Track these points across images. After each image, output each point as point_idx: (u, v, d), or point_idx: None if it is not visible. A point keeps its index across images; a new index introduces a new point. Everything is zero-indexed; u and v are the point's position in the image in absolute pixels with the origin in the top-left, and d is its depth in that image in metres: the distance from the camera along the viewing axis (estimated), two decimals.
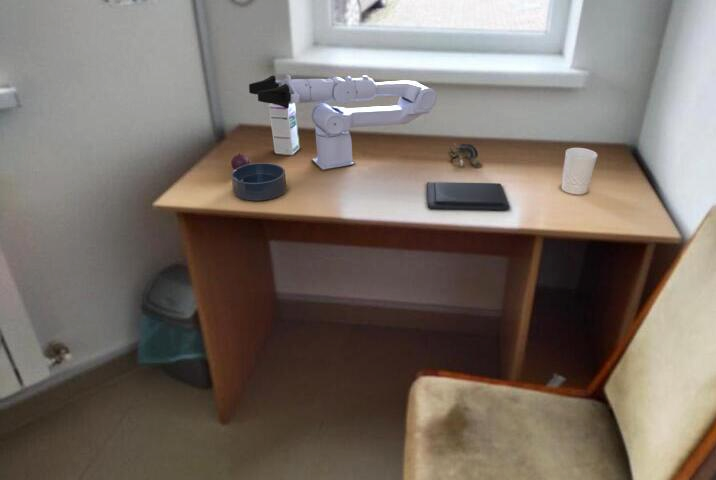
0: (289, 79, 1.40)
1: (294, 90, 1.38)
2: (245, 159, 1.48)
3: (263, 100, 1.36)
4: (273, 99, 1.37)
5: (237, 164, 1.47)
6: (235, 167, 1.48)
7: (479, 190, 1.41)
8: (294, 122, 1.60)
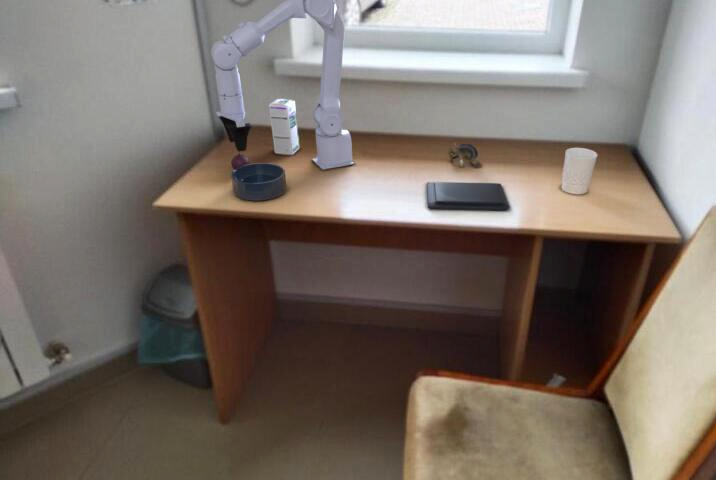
0: (221, 115, 1.40)
1: (232, 118, 1.38)
2: (245, 159, 1.48)
3: (244, 146, 1.43)
4: (243, 137, 1.42)
5: (237, 164, 1.47)
6: (235, 167, 1.48)
7: (479, 190, 1.41)
8: (294, 122, 1.60)
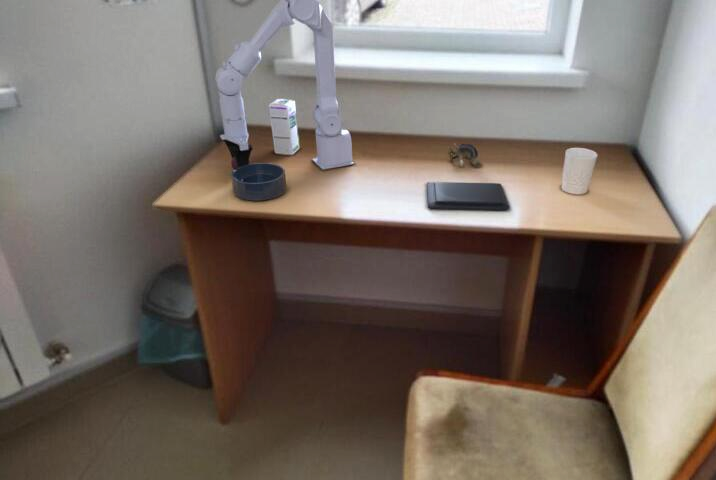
0: (225, 138, 1.43)
1: (235, 142, 1.41)
2: None
3: None
4: (245, 158, 1.46)
5: None
6: (235, 167, 1.48)
7: (479, 190, 1.41)
8: (294, 122, 1.60)
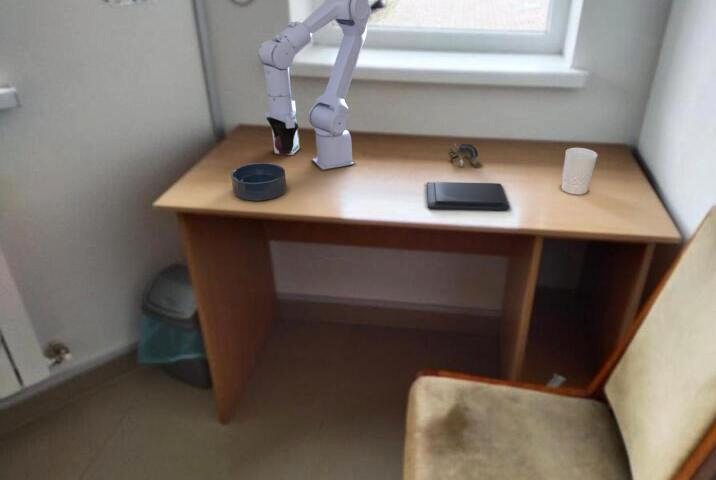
0: (269, 116, 1.37)
1: (281, 120, 1.35)
2: None
3: (291, 146, 1.41)
4: (289, 137, 1.40)
5: None
6: (279, 147, 1.42)
7: (479, 190, 1.41)
8: (294, 122, 1.60)
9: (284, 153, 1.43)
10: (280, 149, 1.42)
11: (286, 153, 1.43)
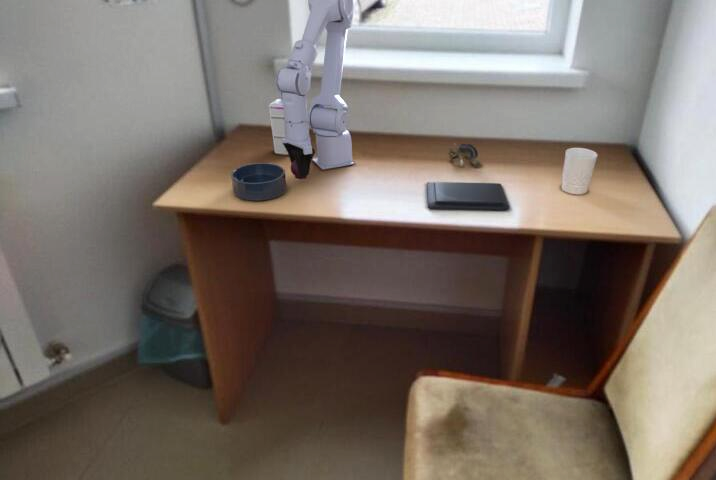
0: (286, 141, 1.37)
1: (299, 146, 1.35)
2: None
3: (307, 171, 1.41)
4: (306, 162, 1.40)
5: None
6: (295, 172, 1.41)
7: (479, 190, 1.41)
8: None
9: (300, 178, 1.43)
10: (296, 174, 1.42)
11: (302, 178, 1.43)
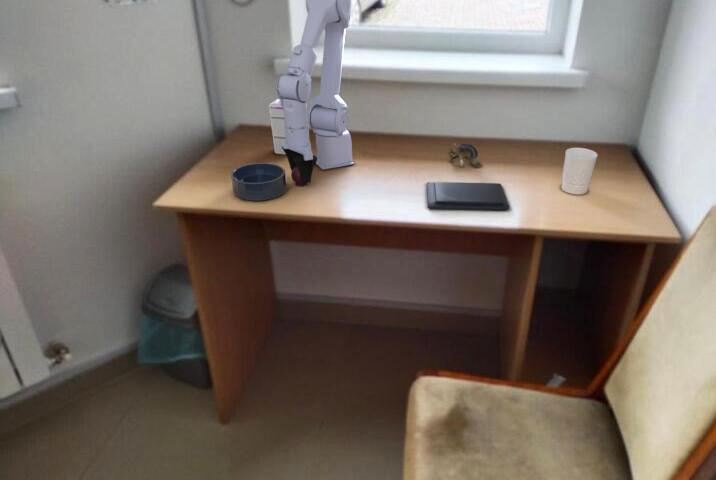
0: (287, 147, 1.38)
1: (299, 151, 1.36)
2: None
3: (309, 178, 1.41)
4: (308, 169, 1.40)
5: (298, 175, 1.42)
6: (296, 179, 1.42)
7: (479, 190, 1.41)
8: None
9: (301, 185, 1.44)
10: (297, 181, 1.43)
11: (303, 184, 1.44)
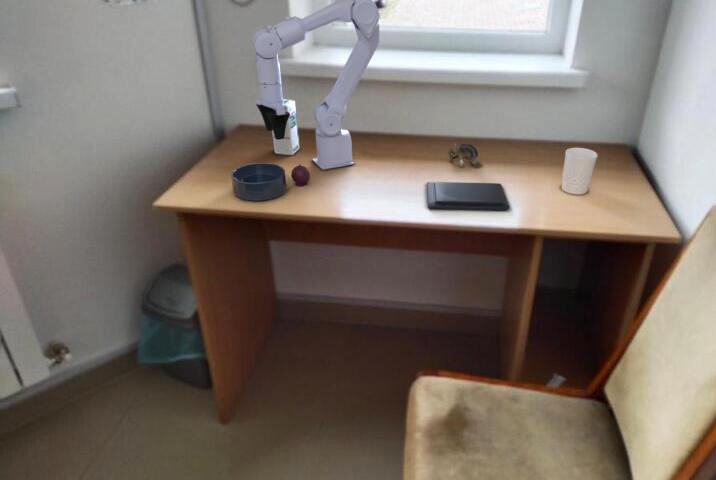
0: (260, 103, 1.42)
1: (272, 107, 1.40)
2: (306, 170, 1.43)
3: (283, 134, 1.46)
4: (281, 125, 1.44)
5: (298, 175, 1.42)
6: (296, 179, 1.42)
7: (479, 190, 1.41)
8: (294, 122, 1.60)
9: (301, 185, 1.44)
10: (297, 181, 1.43)
11: (303, 184, 1.44)
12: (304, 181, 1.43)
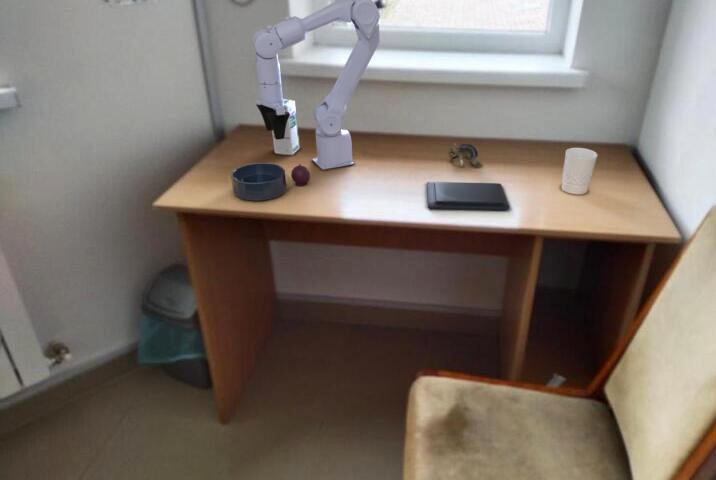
0: (260, 103, 1.42)
1: (272, 107, 1.40)
2: (306, 170, 1.43)
3: (283, 134, 1.46)
4: (281, 125, 1.44)
5: (298, 175, 1.42)
6: (296, 179, 1.42)
7: (479, 190, 1.41)
8: (294, 122, 1.60)
9: (301, 185, 1.44)
10: (297, 181, 1.43)
11: (303, 184, 1.44)
12: (304, 181, 1.43)
